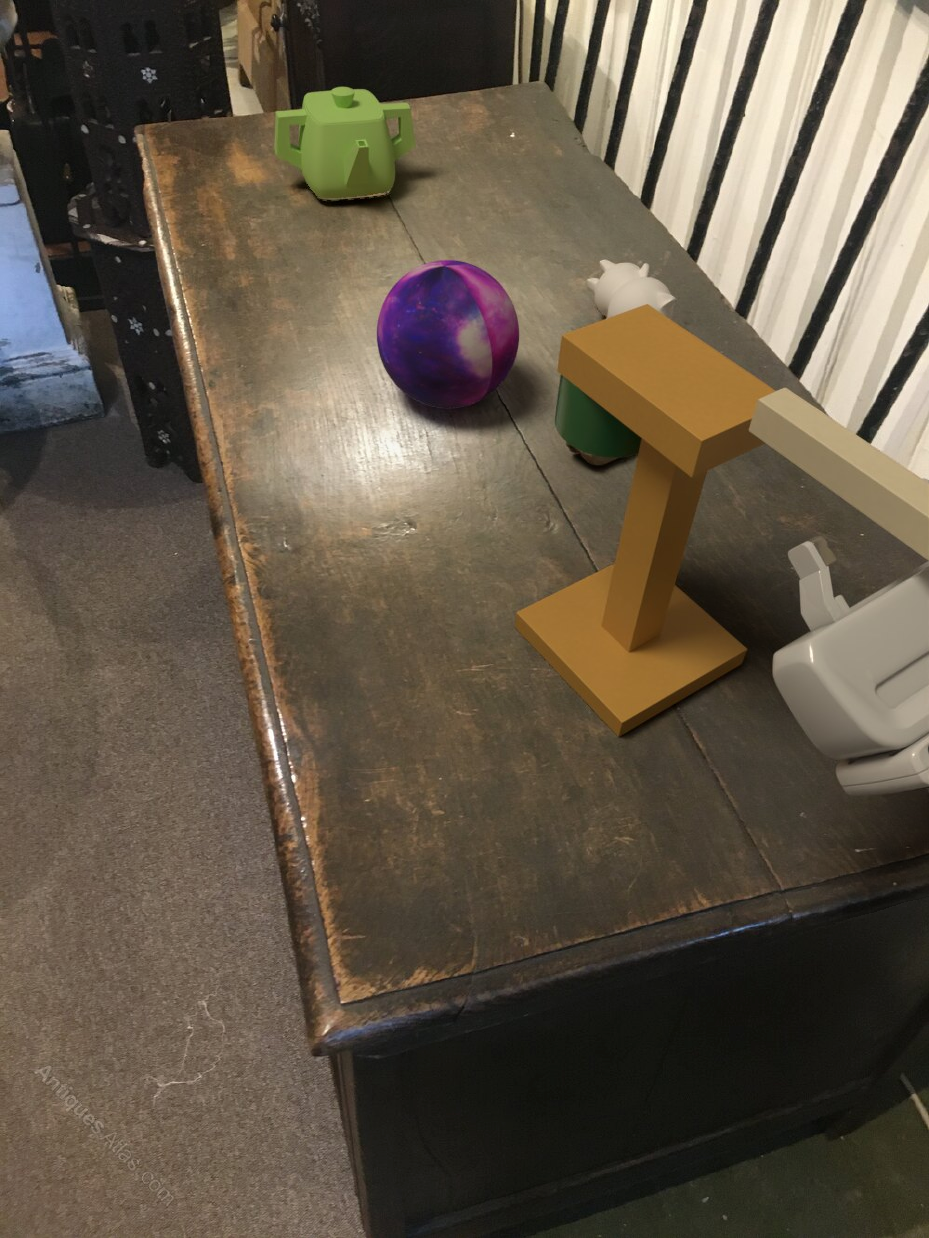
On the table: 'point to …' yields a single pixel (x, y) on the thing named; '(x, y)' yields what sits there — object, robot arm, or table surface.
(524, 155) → the table surface
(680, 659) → the desk lamp
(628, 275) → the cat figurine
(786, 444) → the switch rod
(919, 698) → the robot arm
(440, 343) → the decorative orb
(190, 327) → the table surface
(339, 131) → the teapot
